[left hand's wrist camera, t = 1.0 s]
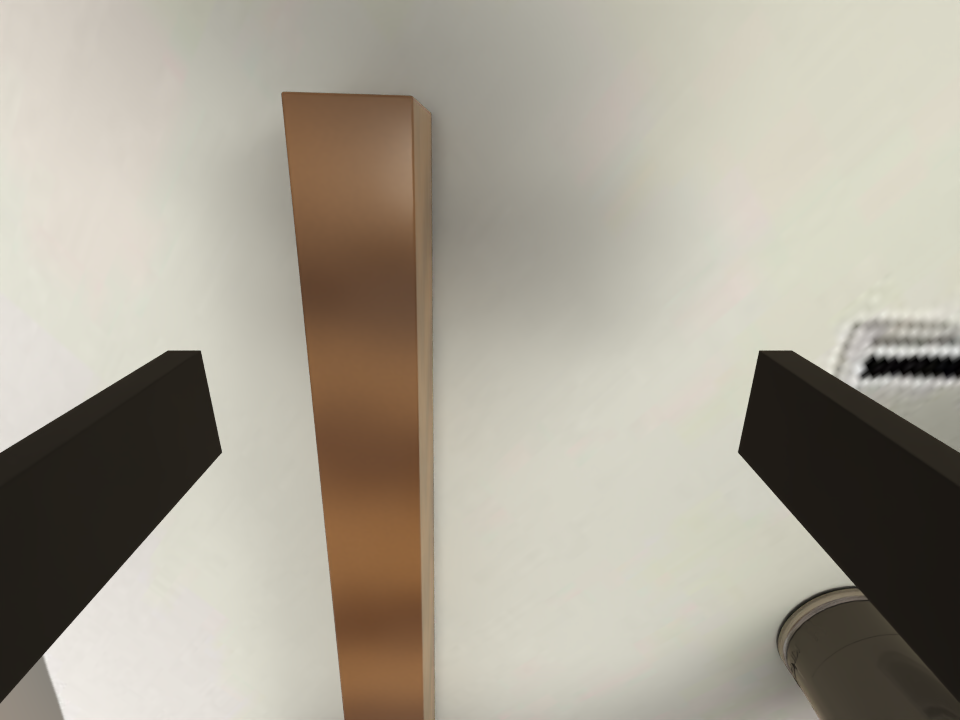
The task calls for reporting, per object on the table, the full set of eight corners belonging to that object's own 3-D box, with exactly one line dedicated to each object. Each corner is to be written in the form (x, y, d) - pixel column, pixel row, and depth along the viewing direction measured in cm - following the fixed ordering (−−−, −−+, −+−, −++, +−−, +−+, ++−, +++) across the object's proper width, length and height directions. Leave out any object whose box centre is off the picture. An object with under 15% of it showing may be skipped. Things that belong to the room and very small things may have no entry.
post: (334, 109, 27) (280, 91, 19) (431, 112, 27) (413, 95, 19) (378, 764, 46) (359, 877, 39) (435, 765, 46) (426, 878, 39)
